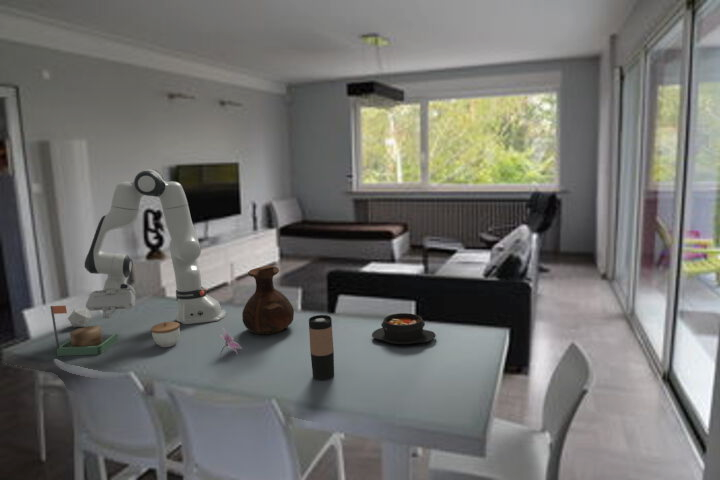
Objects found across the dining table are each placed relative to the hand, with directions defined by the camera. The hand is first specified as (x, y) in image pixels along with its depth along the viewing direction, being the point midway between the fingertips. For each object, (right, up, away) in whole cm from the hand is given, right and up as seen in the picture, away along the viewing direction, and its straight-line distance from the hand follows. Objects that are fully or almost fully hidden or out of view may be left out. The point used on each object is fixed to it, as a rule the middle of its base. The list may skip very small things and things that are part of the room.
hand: (106, 317), depth 218 cm
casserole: (+127, -5, -21) cm, 128 cm away
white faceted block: (-19, -6, +14) cm, 24 cm away
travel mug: (+97, -12, -50) cm, 110 cm away
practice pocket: (0, -10, -14) cm, 17 cm away
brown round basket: (0, -10, -14) cm, 18 cm away
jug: (+71, -5, -3) cm, 71 cm away
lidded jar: (+32, -9, -14) cm, 36 cm away
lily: (+60, -9, -26) cm, 66 cm away
